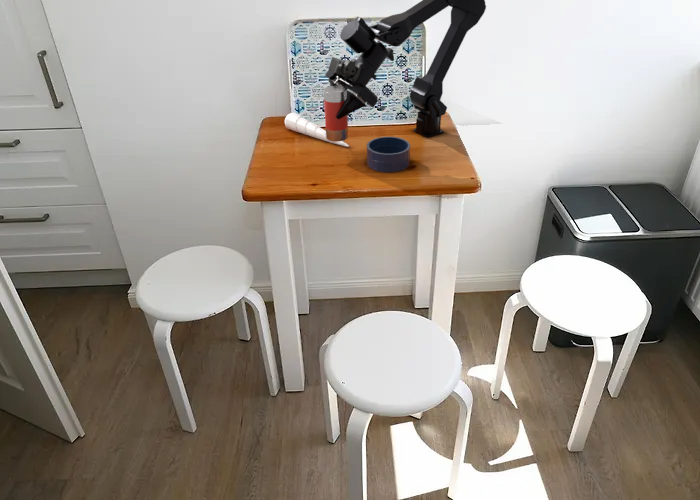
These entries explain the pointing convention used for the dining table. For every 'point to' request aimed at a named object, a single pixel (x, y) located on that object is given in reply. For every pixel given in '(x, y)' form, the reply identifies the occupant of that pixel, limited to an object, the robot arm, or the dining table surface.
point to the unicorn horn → (307, 128)
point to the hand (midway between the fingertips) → (331, 114)
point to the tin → (335, 113)
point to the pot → (388, 154)
